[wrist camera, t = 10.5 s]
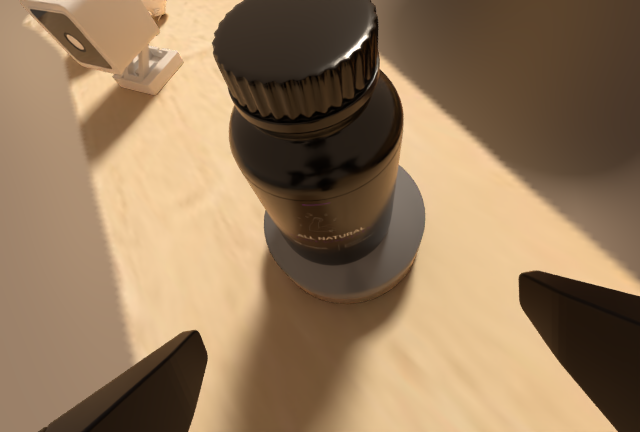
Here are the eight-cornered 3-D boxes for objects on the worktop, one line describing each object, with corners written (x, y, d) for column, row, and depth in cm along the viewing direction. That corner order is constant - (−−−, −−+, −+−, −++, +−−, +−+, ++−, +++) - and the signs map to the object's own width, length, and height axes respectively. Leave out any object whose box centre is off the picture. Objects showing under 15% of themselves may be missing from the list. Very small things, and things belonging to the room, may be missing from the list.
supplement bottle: (328, 294, 17) (249, 165, 7) (262, 213, 20) (136, 37, 10) (417, 218, 18) (474, 4, 8) (343, 153, 21) (309, -64, 11)
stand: (436, 292, 19) (446, 279, 16) (279, 313, 20) (264, 304, 17) (401, 162, 24) (404, 136, 21) (275, 185, 25) (263, 162, 22)
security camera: (108, 95, 34) (13, -2, 25) (147, 53, 36) (73, -48, 28) (149, 106, 32) (62, 5, 23) (188, 61, 34) (122, -46, 25)
